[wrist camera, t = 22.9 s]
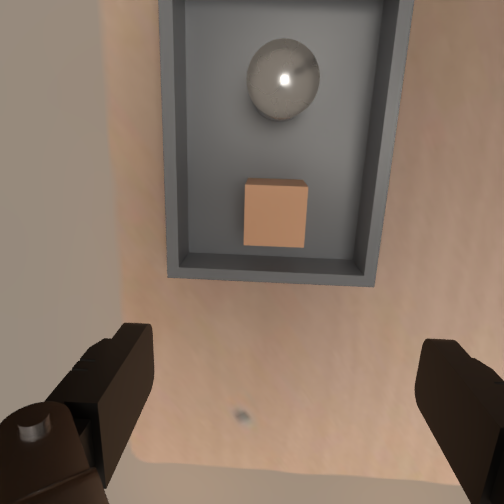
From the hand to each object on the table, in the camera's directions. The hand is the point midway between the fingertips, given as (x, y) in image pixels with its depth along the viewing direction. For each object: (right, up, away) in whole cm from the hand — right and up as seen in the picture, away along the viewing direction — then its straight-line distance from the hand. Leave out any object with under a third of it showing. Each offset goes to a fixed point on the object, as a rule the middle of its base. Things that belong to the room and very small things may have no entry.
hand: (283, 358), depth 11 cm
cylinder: (+1, +17, +21) cm, 27 cm away
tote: (+1, +13, +23) cm, 27 cm away
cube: (+1, +7, +24) cm, 26 cm away
